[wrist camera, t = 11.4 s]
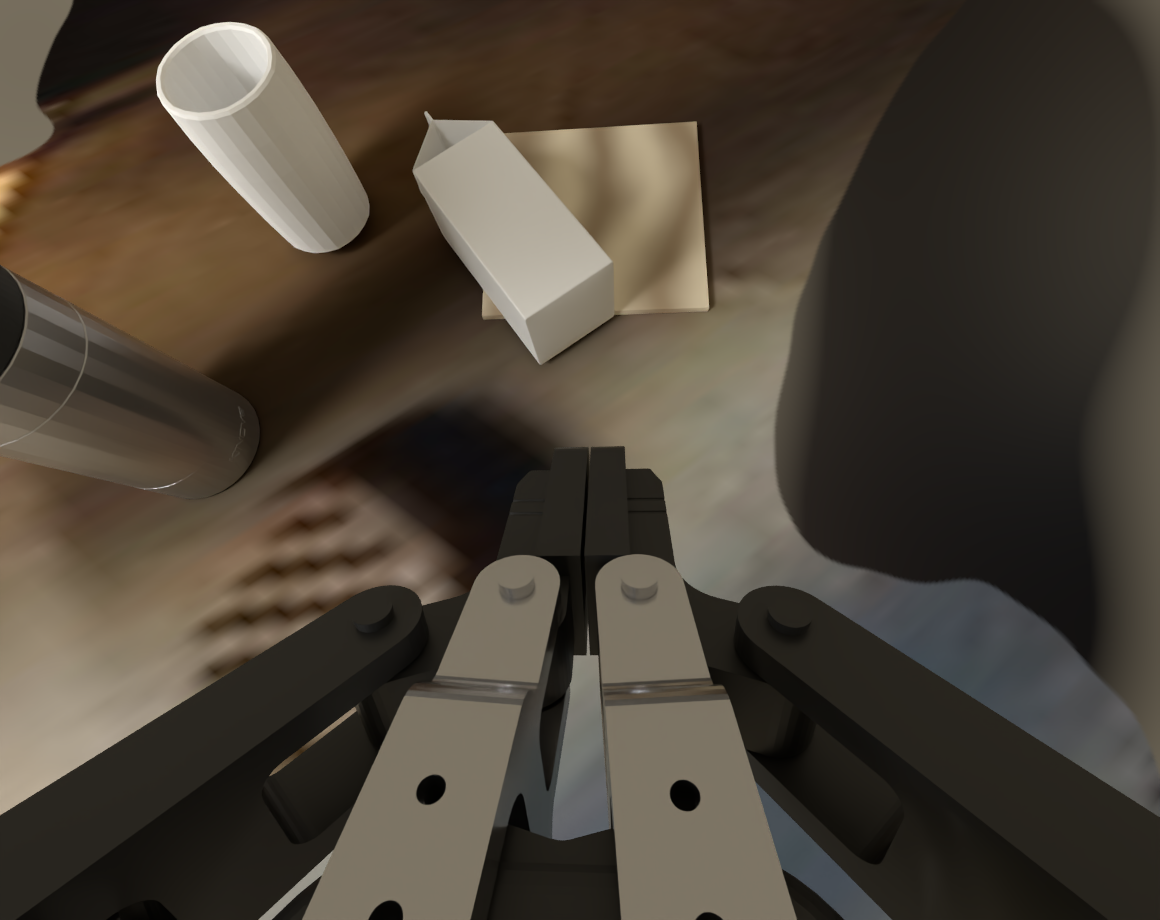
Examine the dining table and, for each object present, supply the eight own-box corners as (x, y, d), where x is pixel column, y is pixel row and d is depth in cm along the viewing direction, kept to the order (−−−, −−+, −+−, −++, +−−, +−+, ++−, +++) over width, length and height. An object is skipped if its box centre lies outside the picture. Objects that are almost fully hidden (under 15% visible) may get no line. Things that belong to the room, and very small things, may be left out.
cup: (275, 206, 48) (137, 47, 34) (362, 169, 48) (259, -2, 34) (301, 280, 45) (164, 143, 32) (392, 241, 46) (295, 88, 32)
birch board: (483, 319, 43) (481, 315, 43) (493, 139, 48) (491, 134, 47) (707, 311, 42) (709, 307, 41) (695, 127, 46) (696, 121, 46)
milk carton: (615, 317, 42) (488, 162, 46) (615, 262, 35) (465, 86, 40) (541, 367, 41) (419, 205, 46) (525, 321, 34) (384, 136, 39)
